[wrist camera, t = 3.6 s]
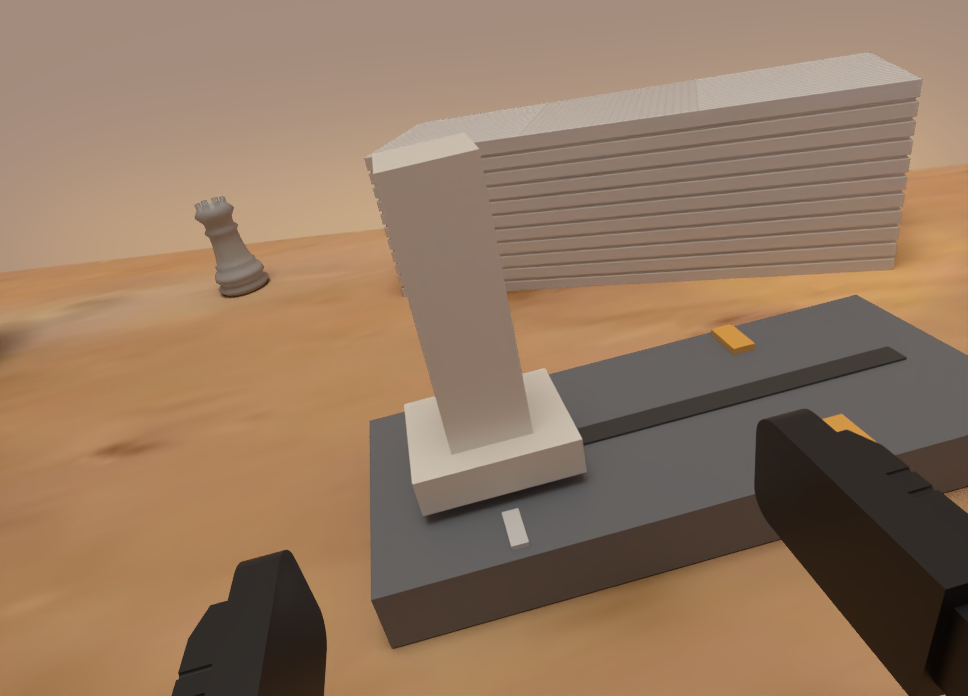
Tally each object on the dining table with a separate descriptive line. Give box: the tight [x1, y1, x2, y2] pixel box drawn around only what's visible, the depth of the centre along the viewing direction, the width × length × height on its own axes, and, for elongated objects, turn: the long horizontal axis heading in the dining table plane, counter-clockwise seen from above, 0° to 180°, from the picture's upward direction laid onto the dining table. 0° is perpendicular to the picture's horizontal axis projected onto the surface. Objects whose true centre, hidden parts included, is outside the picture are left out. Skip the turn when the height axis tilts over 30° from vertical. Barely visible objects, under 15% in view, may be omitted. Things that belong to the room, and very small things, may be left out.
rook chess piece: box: [195, 197, 268, 297], centre depth 53 cm, size 4×4×8 cm
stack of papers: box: [364, 52, 922, 297], centre depth 43 cm, size 32×11×11 cm, turn 74°
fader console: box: [370, 295, 968, 648], centre depth 25 cm, size 24×10×3 cm, turn 100°
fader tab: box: [372, 133, 587, 516], centre depth 21 cm, size 6×5×12 cm
